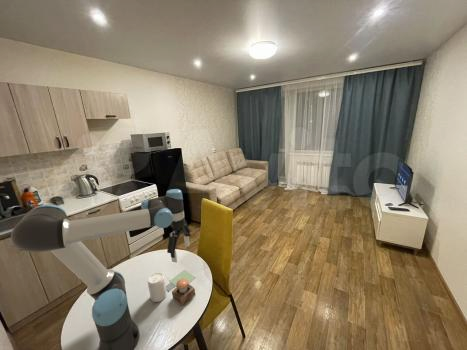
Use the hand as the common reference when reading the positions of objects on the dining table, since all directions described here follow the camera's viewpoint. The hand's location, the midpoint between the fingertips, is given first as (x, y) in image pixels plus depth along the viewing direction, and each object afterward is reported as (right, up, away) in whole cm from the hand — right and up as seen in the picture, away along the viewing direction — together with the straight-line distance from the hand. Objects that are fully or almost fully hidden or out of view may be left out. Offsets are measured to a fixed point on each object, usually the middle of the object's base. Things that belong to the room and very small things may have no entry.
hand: (181, 253), depth 106 cm
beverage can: (-12, -23, -1) cm, 26 cm away
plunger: (+2, -19, -3) cm, 20 cm away
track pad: (-8, -21, +4) cm, 23 cm away
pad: (-2, -19, +9) cm, 21 cm away
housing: (+2, -22, -3) cm, 22 cm away
